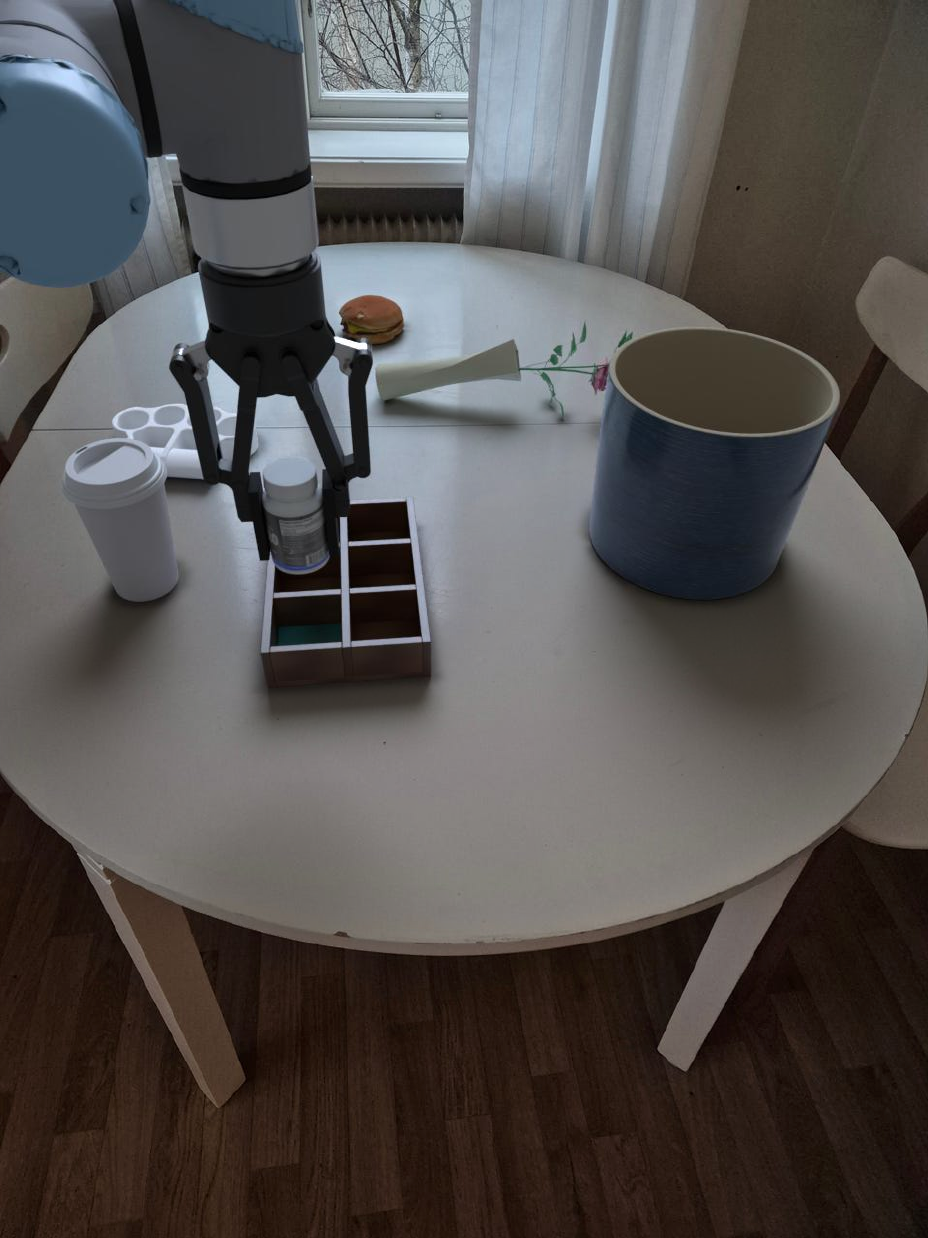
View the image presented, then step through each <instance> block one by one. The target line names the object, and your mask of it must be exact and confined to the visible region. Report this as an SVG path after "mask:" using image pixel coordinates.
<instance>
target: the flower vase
mask: <svg viewBox="0 0 928 1238" xmlns="http://www.w3.org/2000/svg"><path fill="white" fill-rule="evenodd" d="M627 332H628V330H627V329H625V331H624V333H623V335H622V337H621V339H620V340H619V342H618V344H617V347H615V348H614V351H613V354H614V353H615V352H616V350H617V349H618V348H619V347H621V346H622V345H623V344H624V343H626V342H628V341H629V340H631V339H633V335H634V331H631V332H630V333H629V334H628V333H627ZM627 334H628V335H627ZM586 338H587V325H586V321H584V323H583V327H582V330H581V336H580V339H579V342H578V343H577V344H576V337H575V334H574V332H572V340H571V344H570V351H569V353H568V356H567V358H565V360H563V362H562V363H561V364H560V365H558V363H559V357H561V358H562V357H563V344H559V345H556V346H555V347H554V348H553V349H552V351H553V352H554V353H555V354H554V353H553V354H551V355H550V357H549V359H548V360H547V361H543V362H539V363H534V364H530V365H527V366H524V367H521V366H520V365H521V364H520V356H519V348H518V346H517V344H516V341H515V339H514V338H513V339H510V340H508V341H506V342H503V343H501V344H498V345H497V346H494V347H492V348H488V349H485V350H483V351H479V352H475V353H474V352H473V353H470V354H465V355H459V356H453V357H448V358H441V359H439V358H438V359H433V360H431V359H430V360H418V361H417V360H414V361H403V362H391V363H380V364H376V366H375V375H374V376H375V383H376V388H377V392H378V395H379V397H380V400H381V401H388V400H393V399H396V398H401V397H405V396H408V395H412V394H417V393H421V392H425V391H428V390H432V389H436V388H441V387H446V386H451V385H459V384H466V383H472V382H473V383H474V382H480V381H492V380H493V381H494V380H497V381H499V380H501V381H514V382H522V375H521V371H537V372H538V373H535V372H534V375H538V376H540V378H541V379H542V381H545V382H546V384H547V386H548V388H549V391H550V394H551V396H550V399H549V402H548V404H552V402H553V399H554V400H555V401H556V402H558V404H559V406H560V410H561V415H562V421H565V419H564V417H565V412H564V406H563V404H562V402H560V401H559V400H557V398H556V397H555V396H556V392H555V385H554V384H553V383H552V380H551V378H550V376H549V375H548V374H547V373H546V372H545V371H548V372H549V371H551V372H552V371H553V372H554V371H555V372H569V373H579V374H584V375H591V377H590V378H589V380H588V381H587V382H588V383H590V385H591V387H592V388H593V391H594V396H596V395H597V394H598V392H604V391H606V384H607V376H608V369H609V363H610V360H608V357H605V359H604V360H603V361H601V362H600V363H598V364H596V363H595V362H594V363H593V364H592V365H572V366H570V365H568V366H562V365H563V364H565V363H566V362H567V361H568V360H569V358H570V357H572V356H573V355H574V354H575V353H576V352H577V350H578V349H577V348H578V347H577V345H579V344H581V343H584V342H585V341H586ZM558 356H559V357H558ZM549 362H550V363H551V364H552V365H553V366H547V364H548V363H549ZM540 364H545V365H544V367H531V366H535V365H540ZM557 365H558V366H557ZM591 368H593V371H587V370H586V371H585V370H580V369H591ZM540 371H542V372H540Z"/></svg>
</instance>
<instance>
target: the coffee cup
mask: <svg viewBox="0 0 928 1238" xmlns="http://www.w3.org/2000/svg"><path fill="white" fill-rule="evenodd" d="M167 478H168V477H167V469H166V466H165V464H164V463H163V461H162V460H161V458H160V457H159V456H158V455H157V454H156V453H154V452H153V451H152V449H151V448H150V447H149V446H148V445H147V444H145V443H143V442H141V441H138V440H134V439H128V438H116V437H115V438H114V437H113V438H112V437H111V438H106V439H101V440H100V439H99V440H97V441H94V442H90V443H88V444H86V445H84V446H81V447H80V448H78V449H77V450H75V451H74V452H72V454H71V455H70V456H69V457H68V458H67V459H66V462H65V465H64V471H63V473H62V478H61V490H62V494H63V495H64V497H65V498H66V500H68V501H69V502H71V503H72V504H73V506H74V507H75V509H76V511H77V513H78V515H79V517H80V519H81V521H82V524H83V526H84V528H85V529H86V532H87V533H88V536H89V538H90V540H91V542H92V544H93V547H94V548H95V551H96V552H97V555H98V557H99V558H100V561H101V563H102V565H103V567H104V570H105V571H106V574H107V575H108V578H109V580H110V582H111V584H112V586H113V588H114V590H115V592H116V594H117V595H118V596H119V597H121V598H122V599H123V600H126V601H129V602H136V603H141V602H150V601H155V600H158V599H159V598H162V597H164V596H166V595H167V594H169V593H170V592H172V591H173V590H174V588H175V587H176V586H177V584H178V582H179V577H180V576H179V570H178V563H177V557H176V551H175V545H174V538H173V533H172V532H173V531H172V525H171V519H170V514H169V507H168V500H167V494H166V486H165V482H166V479H167Z"/></svg>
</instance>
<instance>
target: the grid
mask: <svg viewBox="0 0 928 1238" xmlns="http://www.w3.org/2000/svg"><path fill="white" fill-rule="evenodd" d="M414 500H415V499H414V497H413V496H406V497H390V498H370V499H369V498H368V499H350V513H349V516H348V517H338V518H337V521H338V531H339V557H329V559H328V561H327V563H326V564H325V565H324V566H323V567H322V568H320V569H318V570H317V571H314V572H311V573H307V574H289V573H286V572H283V571H281V570H280V569H278V568H277V567H276V566H275V565H274V563H273V561H272V557H271V551H270V560H266V561H267V564H266V574H265V587H264V588H265V589H264V604H263V614H262V615H263V616H262V630H261V640H260V641H261V642H260V652H259V654H260V658H261V664H262V668H263V673H264V677H265V678H264V679H265V682H266V683H265V684H266V687H267V688H276V687H291V686H302V685H305V686H306V685H318V684H320V685H321V684H332V683H333V684H335V683H345V682H360V681H373V680H375V681H376V680H389V679H401V678H415V677H417V678H418V677H430V676H432V637H431V630H430V622H429V615H428V614H429V613H428V605H427V599H426V598H427V597H426V590H425V583H424V582H425V581H424V574H423V565H422V557H421V549H420V548H421V547H420V541H419V533H418V525H417V515H416V510H415V501H414Z"/></svg>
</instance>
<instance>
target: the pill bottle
mask: <svg viewBox="0 0 928 1238" xmlns="http://www.w3.org/2000/svg"><path fill="white" fill-rule="evenodd" d="M262 486H263V495H262V506H263V511H264V517H265V522H266V528H267V534H268V540H269V545H270V551H271V557H272V561H273V563H274V565H275V566H276V567H277V568H278V569H280V570H281V571H283V572H286V573H289V574H307V573H311V572H314V571H317V570H318V569H320V568H322V567H323V566H324V565H325V564H326V563H327V561H328V559H329V548H328V539H327V530H326V521H325V512H324V503H323V494H322V486H320V485H319V479H318V472H317V468H316V465H315V464H314V463H313V462H312V461H310V460H309V459H307V458H305V457H299V456H283V457H279V458H276V459H273V460H271V461H270V462H269V463H267V464H266V465H265V466H264V468H263V470H262Z"/></svg>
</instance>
